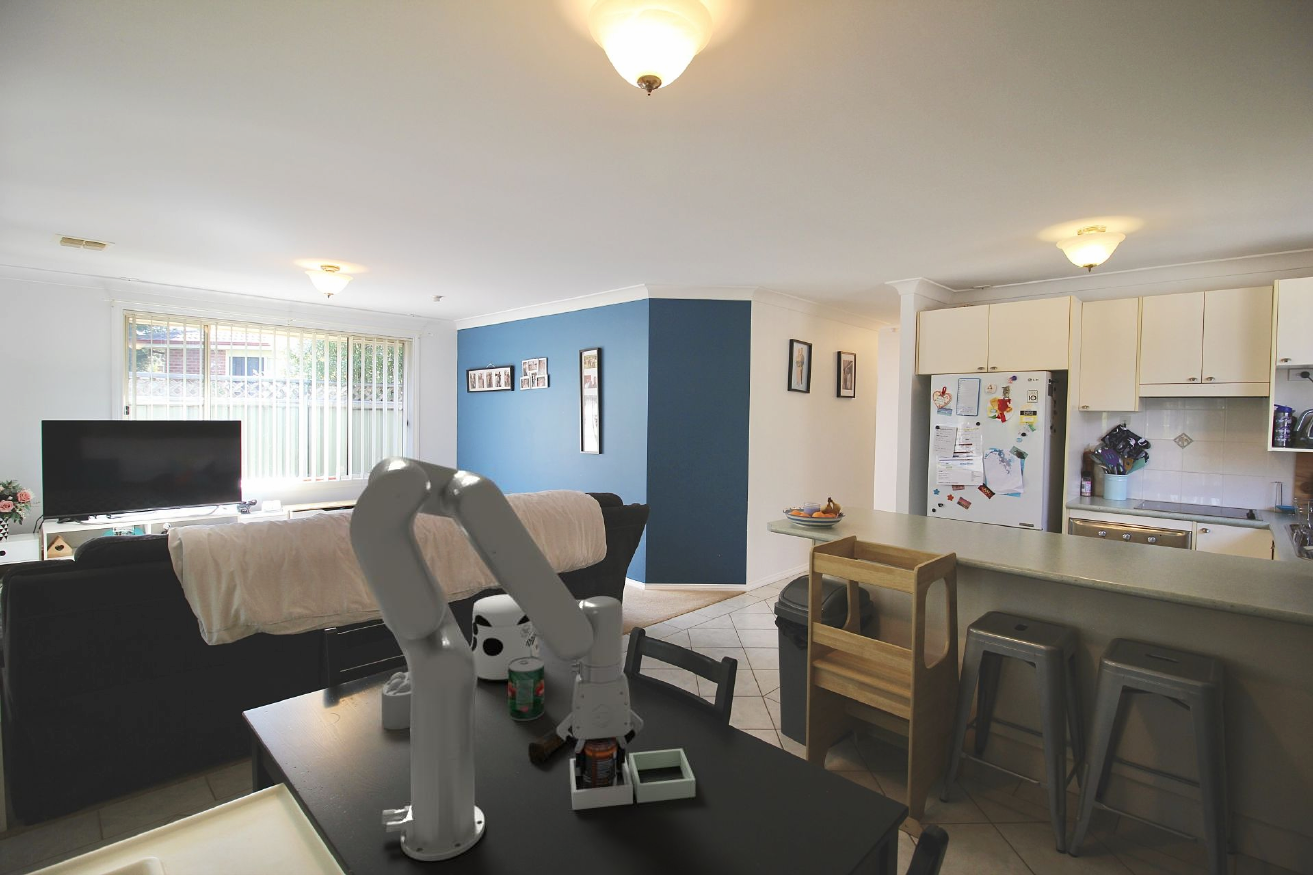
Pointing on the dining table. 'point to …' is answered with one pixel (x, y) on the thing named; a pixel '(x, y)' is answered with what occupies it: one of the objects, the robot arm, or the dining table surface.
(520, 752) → the dining table surface
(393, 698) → the lumpy-topped squat cylinder
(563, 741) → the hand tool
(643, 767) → the sage bin
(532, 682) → the canned tomato
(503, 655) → the milk container
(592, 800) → the grey bin
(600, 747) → the supplement bottle
